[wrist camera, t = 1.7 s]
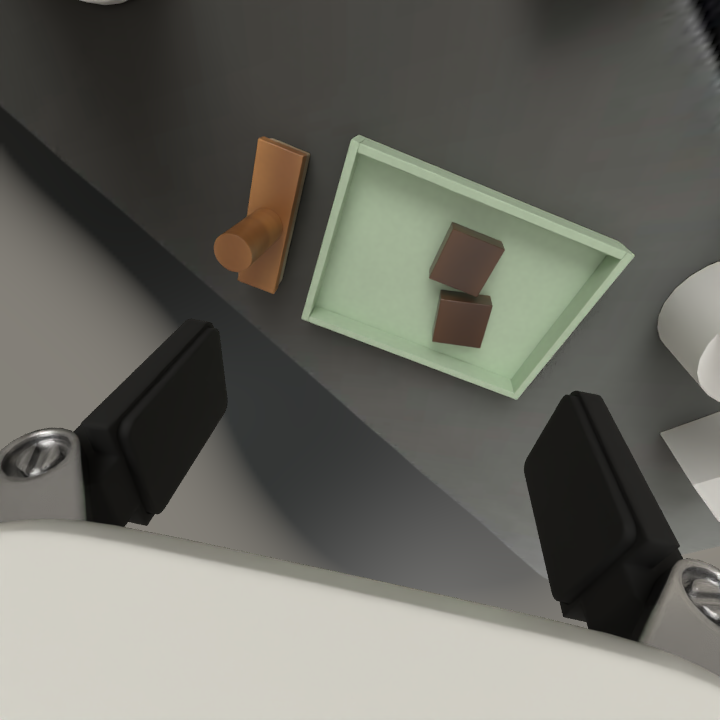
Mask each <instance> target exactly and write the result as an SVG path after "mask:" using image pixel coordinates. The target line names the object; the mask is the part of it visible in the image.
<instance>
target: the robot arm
mask: <svg viewBox="0 0 720 720" xmlns="http://www.w3.org/2000/svg"><path fill="white" fill-rule="evenodd" d="M81 1H85V2H89V3H95V4H101V5H110V4H119V3H123V2H125V1H128V0H81ZM226 408H227V392H226V384H225V376H224V367H223V360H222V351H221V343H220V335H219V331H218V330H217V329H215V328H214V327H213V325H212V323H210V322H205V321H200V320H195V319H188V320H187V321H185V322H184V323H183V324H182V325H181V326H180V327H179V328H178V329H177V330H176V331H175V332H174V333H173V334H172V335H171V336H170V337H169V338H168V339H167V340H166V341H165V342H164V343H163V344H162V345H161V346H160V347H159V348H157V349H156V350H155V351H154V352H153V354H151V355H150V356H149V357H148V358H147V359H146V360H145V361H144V362H143V363H142V364H141V365H140V366H139V367H138V368H137V369H136V370H135V371H134V372H133V373H132V374H131V375H130V376H129V377H128V378H127V379H126V380H125V381H124V382H123V383H122V384H121V385H120V386H119V387H118V388H117V389H116V390H114V391H113V392H112V393H111V394H110V395H109V396H108V397H107V398H106V399H105V400H104V401H103V402H102V403H101V404H100V405H99V406H98V407H97V408H96V409H95V410H94V411H93V412H92V413H91V414H90V415H89V416H88V417H87V418H86V419H85V420H84V421H83V422H82V423H81V425H80V426H79V427H78V428H77V429H76V430H75V431H74V432H72V431H71V430H67V429H64V428H47V429H41V430H37V431H34V432H31V433H28V434H25V435H23V436H21V437H19V438H17V439H15V440H13V441H12V442H10V443H9V444H8V445H7V446H5V447H4V448H3V449H2V450H1V451H0V720H720V570H719V569H718V568H716V567H714V566H713V565H711V564H708V563H706V562H703V561H700V560H696V559H688V558H686V559H683V557H682V556H681V554H680V552H679V550H678V548H679V547H680V545H679V543H678V541H677V540H676V538H675V536H674V534H673V532H672V530H671V528H670V526H669V524H668V522H667V521H666V519H665V517H664V515H663V513H662V511H661V509H660V507H659V505H658V503H657V502H656V500H655V498H654V496H653V494H652V492H651V490H650V488H649V486H648V484H647V483H646V481H645V479H644V477H643V475H642V473H641V471H640V469H639V467H638V465H637V464H636V462H635V460H634V458H633V456H632V454H631V452H630V450H629V448H628V446H627V444H626V443H625V441H624V439H623V437H622V435H621V433H620V431H619V429H618V427H617V425H616V424H615V422H614V420H613V418H612V416H611V414H610V412H609V410H608V408H607V406H606V405H605V403H604V401H603V399H602V398H601V396H599V395H596V394H591V393H585V392H580V391H574V392H572V393H571V394H570V395H565V396H564V397H563V398H562V399H561V401H560V403H559V404H558V406H557V408H556V410H555V411H554V413H553V415H552V416H551V418H550V420H549V421H548V423H547V425H546V427H545V428H544V430H543V432H542V433H541V435H540V437H539V438H538V440H537V442H536V444H535V445H534V447H533V449H532V450H531V452H530V454H529V455H528V457H527V459H526V461H525V465H524V473H525V478H526V482H527V487H528V491H529V495H530V500H531V504H532V508H533V513H534V517H535V521H536V526H537V530H538V535H539V539H540V543H541V548H542V552H543V556H544V561H545V565H546V570H547V574H548V578H549V583H550V587H551V591H552V595H553V597H554V599H555V600H556V601H560V605H561V609H562V613H563V617H566V618H570V619H575V620H580V621H584V622H587V626H588V629H587V628H583V627H579V626H574V625H571V624H566V623H562V622H558V621H554V620H550V619H546V618H542V617H538V616H533V615H529V614H524V613H520V612H516V611H511V610H506V609H502V608H497V607H493V606H488V605H484V604H480V603H475V602H471V601H466V600H462V599H458V598H453V597H449V596H444V595H440V594H435V593H431V592H427V591H422V590H418V589H413V588H408V587H404V586H399V585H394V584H390V583H385V582H381V581H377V580H372V579H368V578H363V577H358V576H354V575H349V574H345V573H340V572H336V571H331V570H326V569H321V568H317V567H313V566H308V565H304V564H299V563H294V562H290V561H285V560H280V559H276V558H271V557H266V556H262V555H257V554H252V553H248V552H243V551H238V550H233V549H229V548H224V547H220V546H215V545H210V544H205V543H201V542H196V541H192V540H186V539H182V538H177V537H172V536H167V535H162V534H156V533H152V532H147V531H142V530H136V529H131V528H126V527H125V525H126V524H127V522H132V523H136V524H141V525H146V526H147V525H148V524H149V522H150V520H151V519H152V517H153V516H154V514H160V513H161V512H162V511H163V510H164V508H165V507H166V505H167V504H168V502H169V500H170V499H171V497H172V496H173V494H174V493H175V491H176V489H177V488H178V486H179V485H180V483H181V481H182V480H183V478H184V477H185V475H186V473H187V472H188V470H189V469H190V467H191V466H192V464H193V462H194V461H195V459H196V458H197V456H198V454H199V453H200V451H201V449H202V448H203V446H204V445H205V443H206V441H207V440H208V438H209V437H210V435H211V434H212V432H213V430H214V429H215V427H216V426H217V424H218V422H219V421H220V419H221V418H222V416H223V415H224V413H225V411H226Z"/></svg>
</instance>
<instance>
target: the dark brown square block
mask: <svg viewBox="0 0 720 720" xmlns="http://www.w3.org/2000/svg"><path fill="white" fill-rule="evenodd" d="M504 251H505V248H504V246H503V243H502V241H499V240H497V239H494V238H492V237H489V236H487V235H484V234H482V233H479V232H477V231H474V230H472V229H469V228H467V227H464V226H462V225H460V224H457V223H455V222H452V223H451V225H450V227H449V229H448V231H447V233H446V235H445V238H444V240H443V242H442V244H441V246H440V248H439V250H438V252H437V254H436V256H435V258H434V261H433V263H432V265H431V267H430V269H429V279H432V280H434V281H437V282H439V283H442V284H445V285H447V286H450V287H452V288H455V289H457V290H460V291H462V292H465V293H468V294H470V295H473V296H475V297H478V295H479V293H480V292H481V290H482V288H483V287H484V285H485V283H486V281H487V280H488V278H489V276H490V275H491V273H492V271H493V270H494V268H495V266H496V265H497V263H498V261H499V259H500V258H501V256H502V254H503V253H504Z"/></svg>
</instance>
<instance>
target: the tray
mask: <svg viewBox="0 0 720 720" xmlns="http://www.w3.org/2000/svg"><path fill="white" fill-rule="evenodd" d="M452 222H455V223H457V224H460V225H462V226H464V227H467V228H469V229H472V230H474V231H477V232H479V233H482V234H484V235H487V236H489V237H492V238H494V239H497V240H499V241H502V243H503V246H504V248H505V251H504V253H503V254H502V256H501V258H500V259H499V261H498V263H497V265H496V266H495V268H494V270H493V271H492V273H491V275H490V276H489V278H488V280H487V281H486V283H485V285H484V287H483V288H482V290H481V292H480V293H479V294H480V295H488V296H490V297H491V301H492V305H493V307H492V311H491V314H490V317H489V321H488V324H487V327H486V331H485V334H484V337H483V341H482V344H481V348H473V347H466V346H459V345H452V344H445V343H438V342H432V329H433V324H434V319H435V315H436V310H437V305H438V300H439V295H440V290H449V291H457V292H462V291H460V290H457V289H455V288H452V287H450V286H447V285H445V284H442V283H439V282H437V281H434V280H432V279H429V269H430V267H431V265H432V263H433V261H434V258H435V256H436V254H437V252H438V250H439V248H440V246H441V244H442V242H443V240H444V238H445V235H446V233H447V231H448V229H449V227H450V225H451V223H452ZM634 256H635V255H634V254H633V253H632V252H631V251H629V250H628V249H627V248H626V247H625V246H624V245H622V244H621V243H620V242H619V241H616V240H614V239H612V238H609V237H607V236H604V235H602V234H599V233H597V232H595V231H592V230H590V229H587V228H585V227H582V226H580V225H577V224H575V223H573V222H570V221H568V220H565V219H563V218H560V217H558V216H556V215H553V214H551V213H548V212H546V211H543V210H541V209H539V208H536V207H534V206H531V205H529V204H526V203H524V202H521V201H519V200H517V199H514V198H512V197H509V196H507V195H504V194H502V193H500V192H497V191H495V190H492V189H490V188H487V187H485V186H483V185H480V184H478V183H475V182H473V181H470V180H468V179H465V178H463V177H461V176H458V175H456V174H453V173H451V172H448V171H446V170H444V169H441V168H439V167H436V166H434V165H431V164H429V163H427V162H424V161H422V160H419V159H417V158H414V157H412V156H409V155H407V154H405V153H402V152H400V151H397V150H395V149H392V148H390V147H388V146H385V145H383V144H380V143H378V142H375V141H373V140H371V139H368V138H366V137H363V136H361V135H358V136H356V137H354V138H353V139H351V142H350V145H349V149H348V153H347V156H346V160H345V163H344V167H343V170H342V174H341V178H340V181H339V185H338V188H337V192H336V196H335V199H334V203H333V206H332V210H331V214H330V217H329V221H328V224H327V228H326V231H325V235H324V239H323V242H322V246H321V249H320V253H319V257H318V260H317V264H316V267H315V271H314V275H313V278H312V282H311V285H310V289H309V293H308V296H307V300H306V303H305V307H304V310H303V314H302V318H301V319H303V320H306V321H308V322H311V323H314V324H316V325H319V326H322V327H324V328H327V329H330V330H332V331H335V332H338V333H340V334H343V335H346V336H348V337H351V338H354V339H356V340H359V341H362V342H364V343H367V344H369V345H372V346H375V347H377V348H380V349H383V350H385V351H388V352H391V353H393V354H396V355H399V356H401V357H404V358H407V359H409V360H412V361H415V362H417V363H420V364H423V365H425V366H428V367H431V368H433V369H436V370H439V371H441V372H444V373H447V374H449V375H452V376H455V377H457V378H460V379H463V380H465V381H468V382H471V383H473V384H476V385H479V386H481V387H484V388H487V389H489V390H492V391H495V392H497V393H500V394H503V395H505V396H508V397H511V398H513V399H516V400H517V399H518V398H519V396H520V395H521V394H522V393H523V392H524V390H525V389H526V388H527V387H528V385H529V384H530V383H531V382H532V381H533V379H534V378H535V377H536V376H537V375H538V373H539V372H540V371H541V370H542V368H543V367H544V366H545V365H546V364H547V362H548V361H549V360H550V359H551V357H552V356H553V355H554V354H555V353H556V351H557V350H558V349H559V348H560V346H561V345H562V344H563V343H564V342H565V340H566V339H567V338H568V337H569V336H570V334H571V333H572V332H573V331H574V329H575V328H576V327H577V326H578V325H579V323H580V322H581V321H582V320H583V318H584V317H585V316H586V315H587V314H588V312H589V311H590V310H591V309H592V307H593V306H594V305H595V304H596V303H597V301H598V300H599V299H600V298H601V296H602V295H603V294H604V293H605V292H606V290H607V289H608V288H609V287H610V286H611V284H612V283H613V282H614V281H615V279H616V278H617V277H618V276H619V275H620V273H621V272H622V271H623V270H624V268H625V267H626V266H627V265H628V264H629V262H630V261H631V260H632V259H633V257H634ZM464 293H465V292H464Z"/></svg>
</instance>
